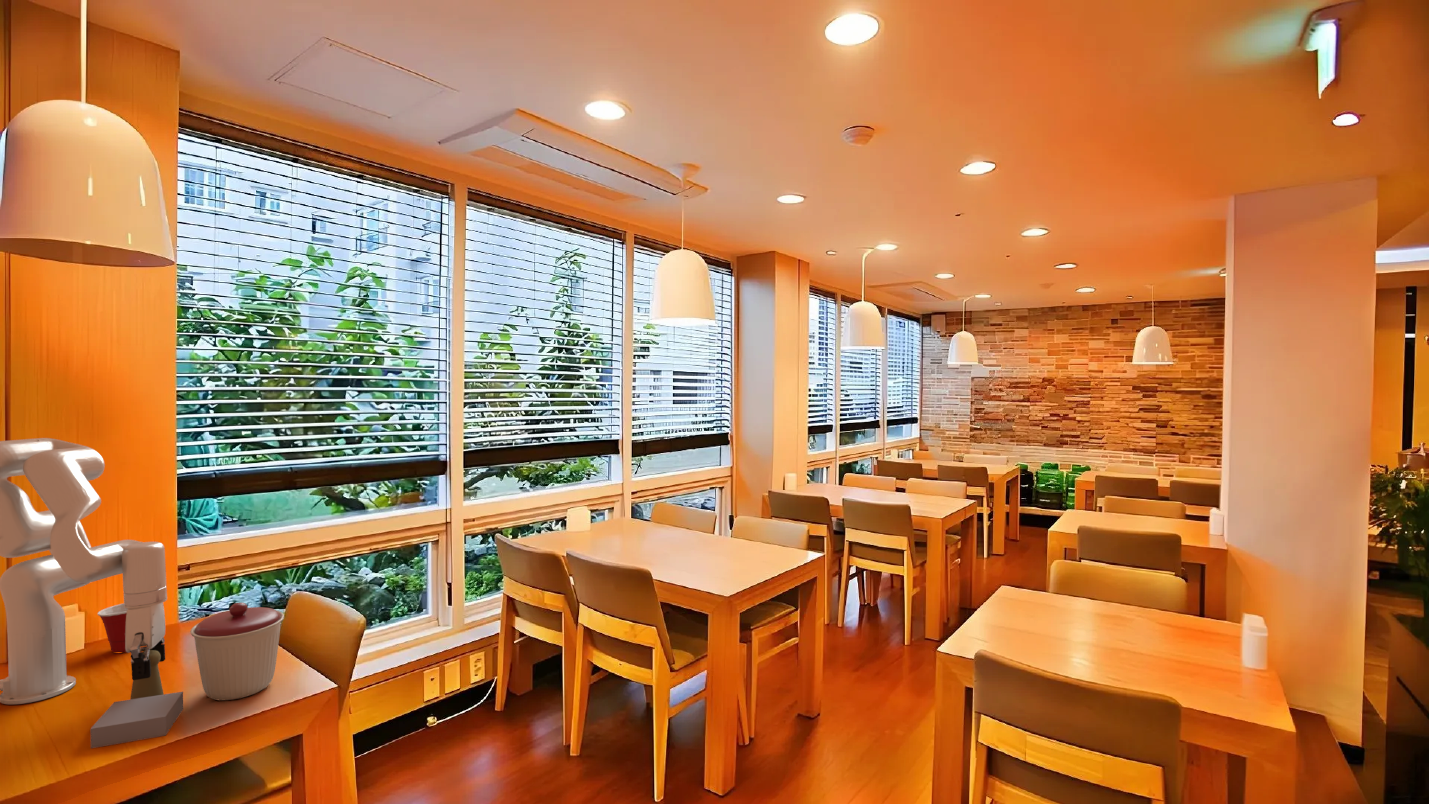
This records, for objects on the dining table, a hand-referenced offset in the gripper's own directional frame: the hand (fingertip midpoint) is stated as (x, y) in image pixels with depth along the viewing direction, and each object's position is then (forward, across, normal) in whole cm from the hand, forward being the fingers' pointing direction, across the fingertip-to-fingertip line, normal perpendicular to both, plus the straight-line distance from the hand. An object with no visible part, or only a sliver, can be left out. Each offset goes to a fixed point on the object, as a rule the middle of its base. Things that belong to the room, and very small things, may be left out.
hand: (149, 670), depth 153 cm
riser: (+7, +14, +2) cm, 16 cm away
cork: (+7, 0, -1) cm, 7 cm away
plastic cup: (+6, -38, -16) cm, 41 cm away
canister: (+8, +3, +18) cm, 19 cm away
